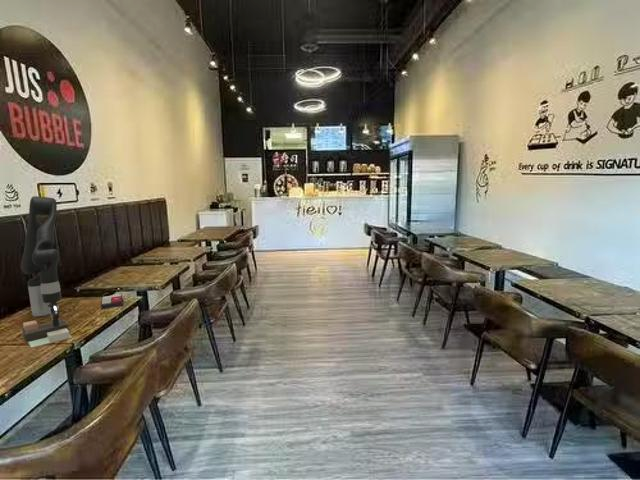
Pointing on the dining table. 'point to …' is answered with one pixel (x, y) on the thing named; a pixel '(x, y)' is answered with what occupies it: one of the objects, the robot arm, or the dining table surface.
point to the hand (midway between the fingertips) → (56, 326)
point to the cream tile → (58, 335)
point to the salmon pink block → (30, 326)
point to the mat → (42, 342)
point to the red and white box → (111, 301)
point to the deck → (43, 330)
